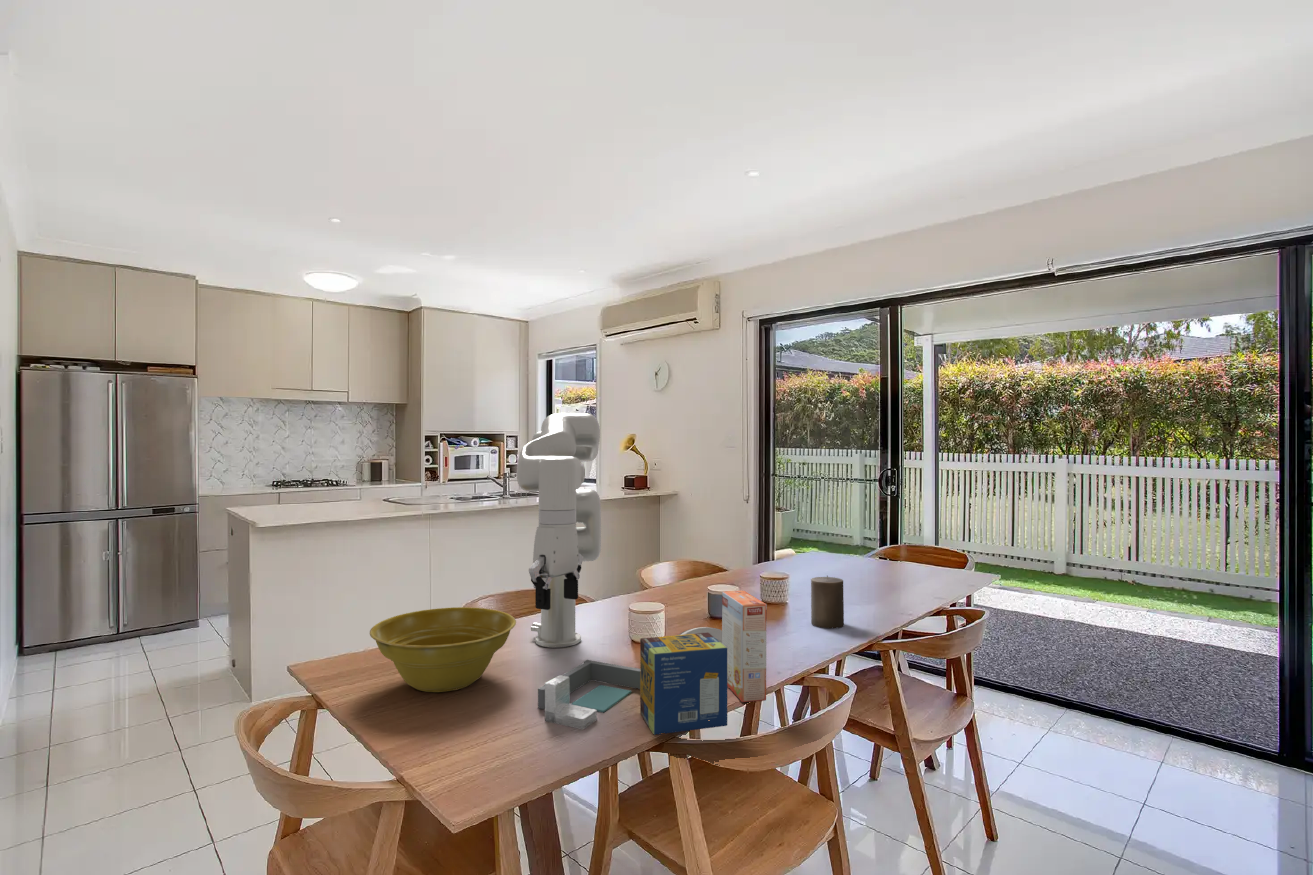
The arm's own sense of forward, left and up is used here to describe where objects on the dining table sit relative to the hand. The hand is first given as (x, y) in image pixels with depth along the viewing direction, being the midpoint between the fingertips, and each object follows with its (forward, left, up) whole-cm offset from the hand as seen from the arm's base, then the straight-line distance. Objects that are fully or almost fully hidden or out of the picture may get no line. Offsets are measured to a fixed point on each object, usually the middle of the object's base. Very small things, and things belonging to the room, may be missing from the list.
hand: (557, 603), depth 131 cm
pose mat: (+3, +12, -23) cm, 26 cm away
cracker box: (+29, +30, -23) cm, 48 cm away
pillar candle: (+35, +92, -23) cm, 101 cm away
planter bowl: (-35, +5, -23) cm, 42 cm away
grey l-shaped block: (+3, 0, -23) cm, 23 cm away
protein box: (+23, +10, -23) cm, 34 cm away
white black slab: (+14, +42, -23) cm, 50 cm away
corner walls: (+3, +12, -23) cm, 26 cm away
